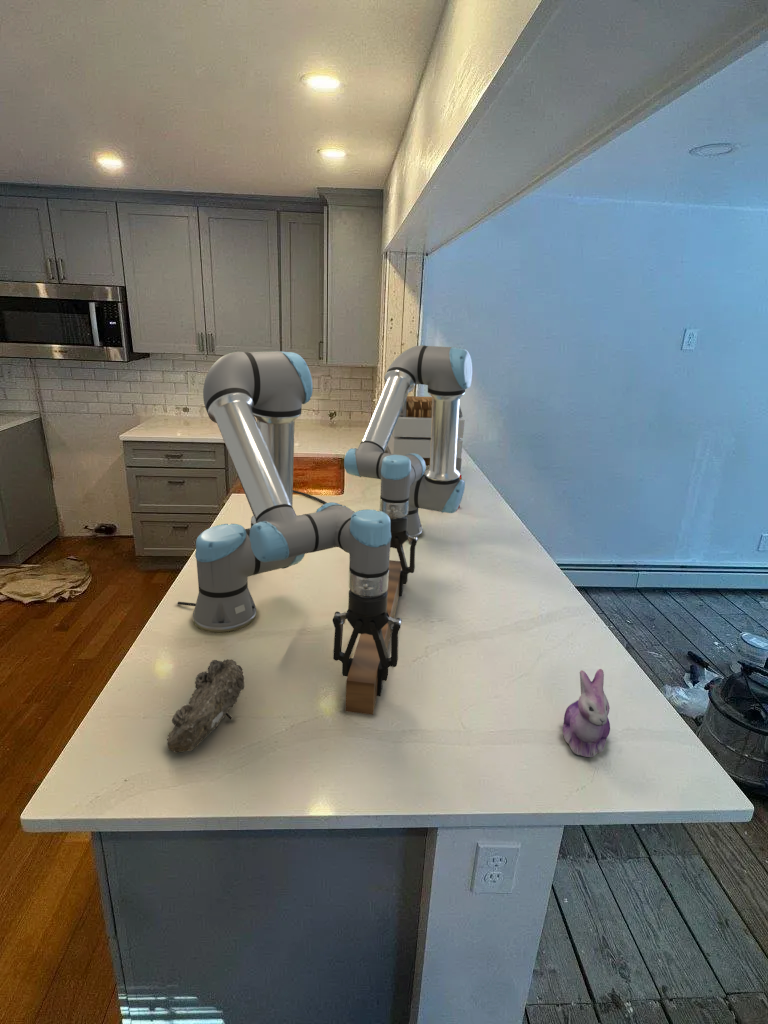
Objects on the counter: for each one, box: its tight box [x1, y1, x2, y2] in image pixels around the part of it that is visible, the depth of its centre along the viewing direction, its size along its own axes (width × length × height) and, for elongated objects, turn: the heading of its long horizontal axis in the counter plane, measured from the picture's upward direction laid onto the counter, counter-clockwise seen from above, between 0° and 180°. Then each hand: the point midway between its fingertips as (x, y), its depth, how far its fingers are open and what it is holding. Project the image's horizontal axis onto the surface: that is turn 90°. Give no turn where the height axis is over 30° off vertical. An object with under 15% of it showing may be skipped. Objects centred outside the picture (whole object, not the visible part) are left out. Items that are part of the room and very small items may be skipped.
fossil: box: [166, 658, 245, 754], centre depth 106 cm, size 22×10×15 cm
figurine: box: [562, 668, 611, 758], centre depth 104 cm, size 9×10×15 cm
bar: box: [344, 559, 402, 716], centre depth 136 cm, size 56×6×7 cm, turn 173°
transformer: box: [385, 395, 465, 475], centre depth 268 cm, size 34×33×41 cm
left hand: (364, 690), depth 117 cm, fingers closed on bar, 5 cm apart
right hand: (389, 592), depth 157 cm, fingers closed on bar, 5 cm apart
